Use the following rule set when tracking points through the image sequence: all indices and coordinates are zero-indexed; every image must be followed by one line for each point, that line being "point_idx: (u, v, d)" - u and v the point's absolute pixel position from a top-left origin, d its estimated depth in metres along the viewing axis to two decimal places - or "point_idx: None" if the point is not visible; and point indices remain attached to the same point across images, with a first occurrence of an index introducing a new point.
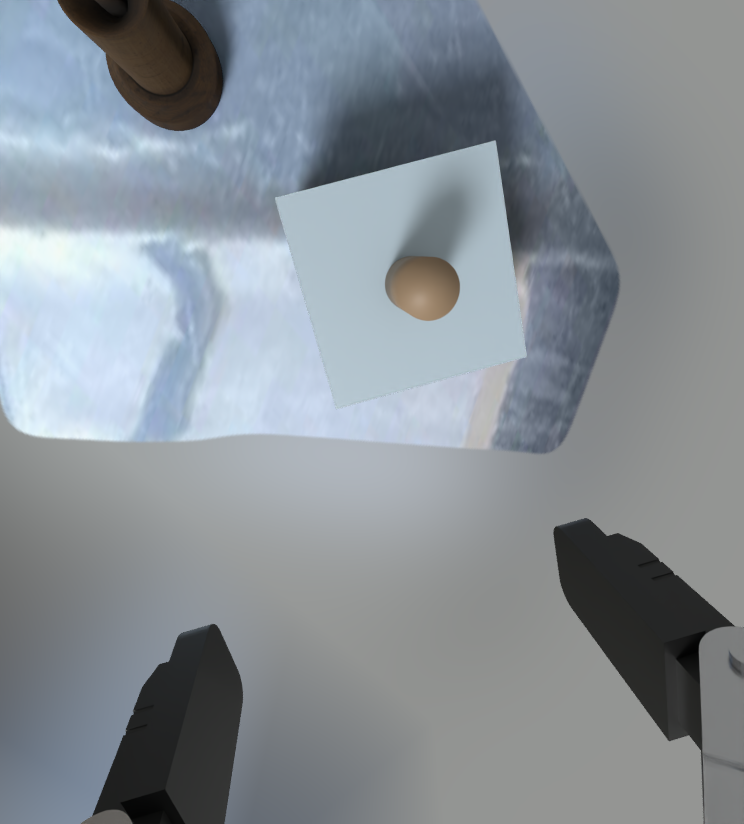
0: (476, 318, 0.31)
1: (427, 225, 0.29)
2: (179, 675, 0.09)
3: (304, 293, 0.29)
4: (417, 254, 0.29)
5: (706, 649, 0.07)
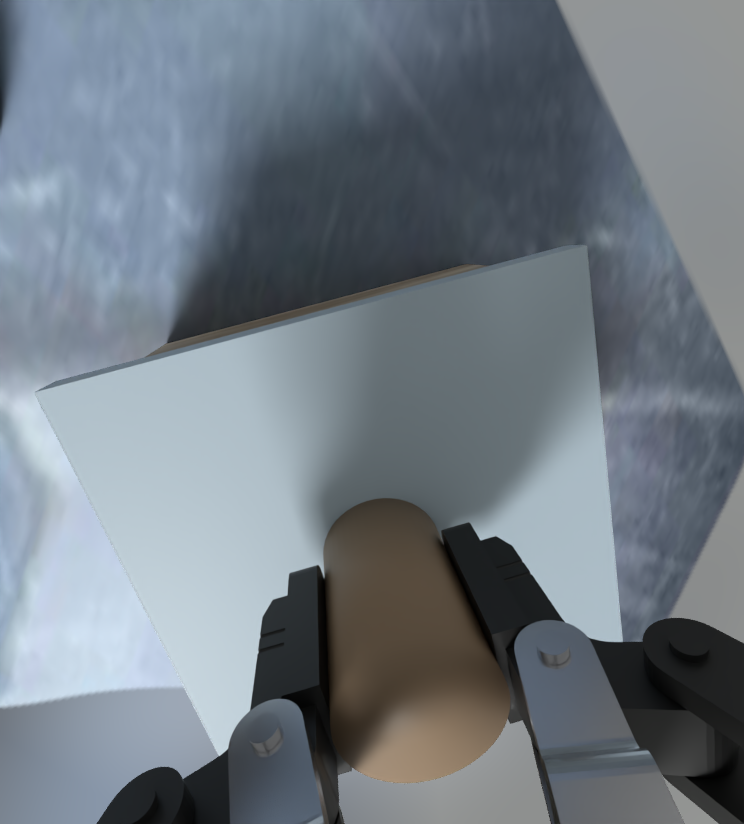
0: None
1: (420, 436, 0.12)
2: (301, 603, 0.10)
3: (136, 584, 0.13)
4: (396, 493, 0.13)
5: (521, 651, 0.08)
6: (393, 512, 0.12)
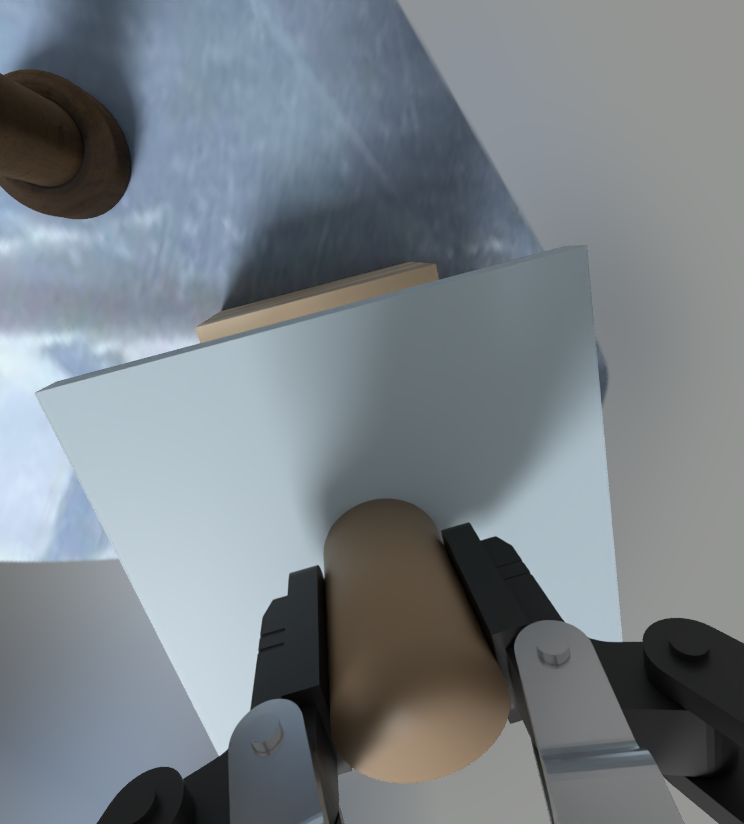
0: None
1: (420, 436, 0.12)
2: (301, 603, 0.10)
3: (136, 585, 0.13)
4: (396, 494, 0.13)
5: (521, 651, 0.08)
6: (393, 512, 0.12)
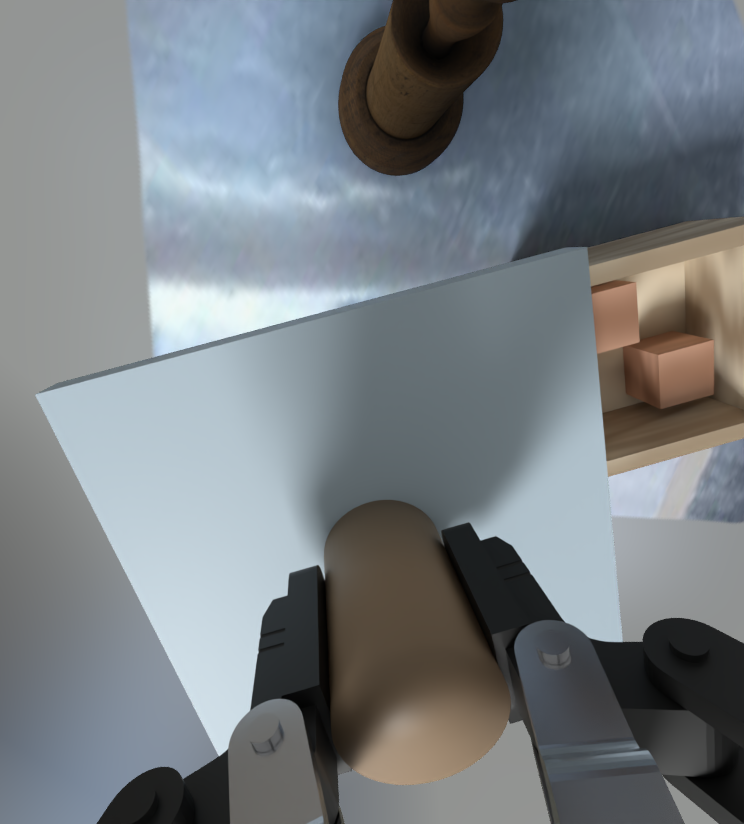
0: None
1: (420, 437, 0.12)
2: (301, 603, 0.10)
3: (137, 586, 0.13)
4: (397, 495, 0.13)
5: (521, 651, 0.08)
6: (393, 514, 0.12)
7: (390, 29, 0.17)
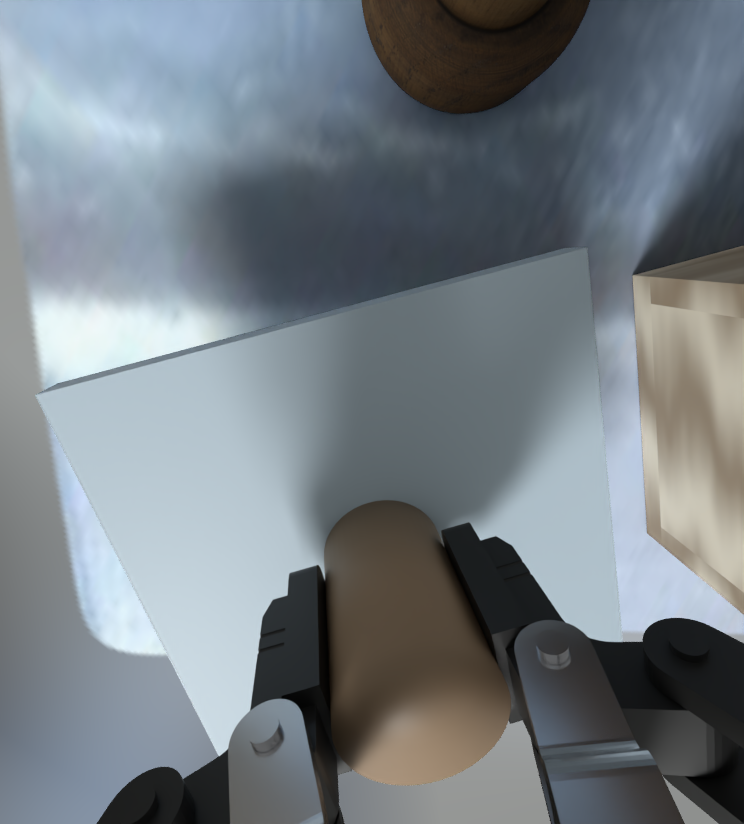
0: None
1: (420, 438, 0.12)
2: (301, 603, 0.10)
3: (137, 586, 0.13)
4: (397, 495, 0.13)
5: (521, 651, 0.08)
6: (393, 514, 0.12)
7: None
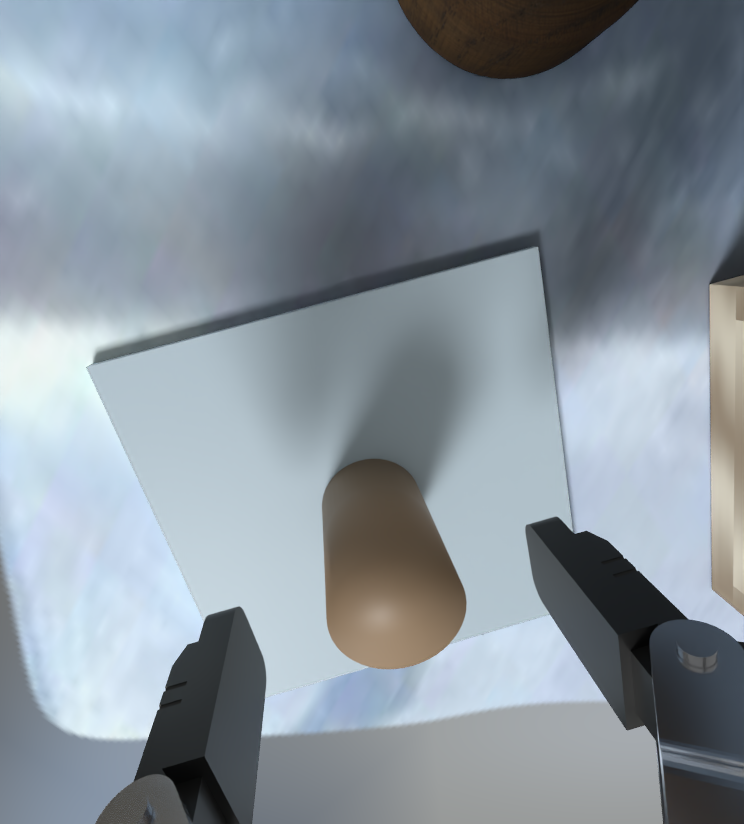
0: (494, 552, 0.17)
1: (402, 406, 0.15)
2: (209, 653, 0.10)
3: (165, 530, 0.15)
4: (383, 455, 0.15)
5: (657, 644, 0.07)
6: (379, 468, 0.14)
7: None
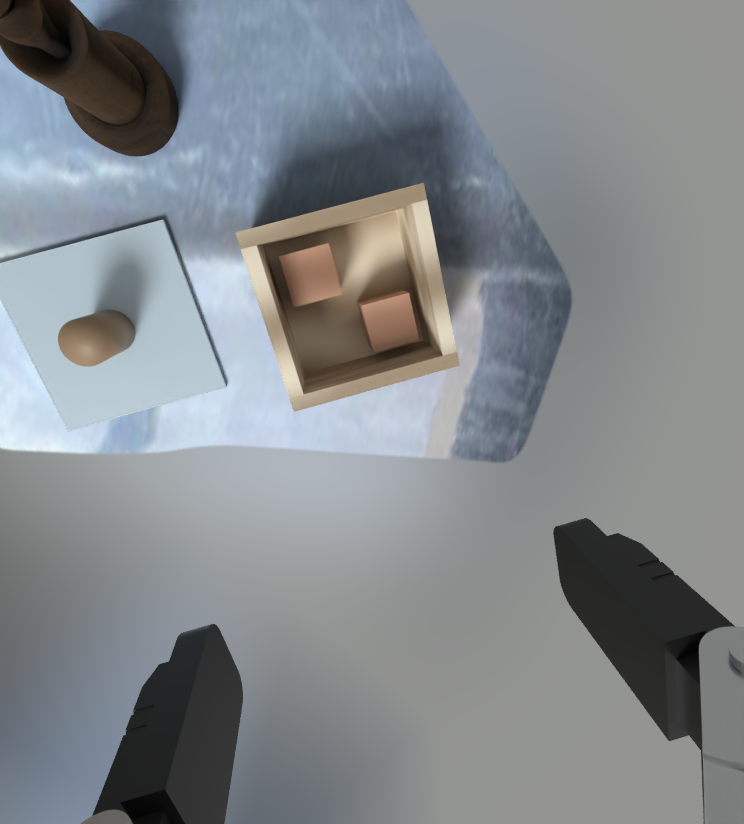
0: (175, 357, 0.38)
1: (118, 286, 0.36)
2: (179, 675, 0.09)
3: (23, 340, 0.36)
4: (114, 308, 0.36)
5: (707, 649, 0.07)
6: (107, 311, 0.36)
7: None
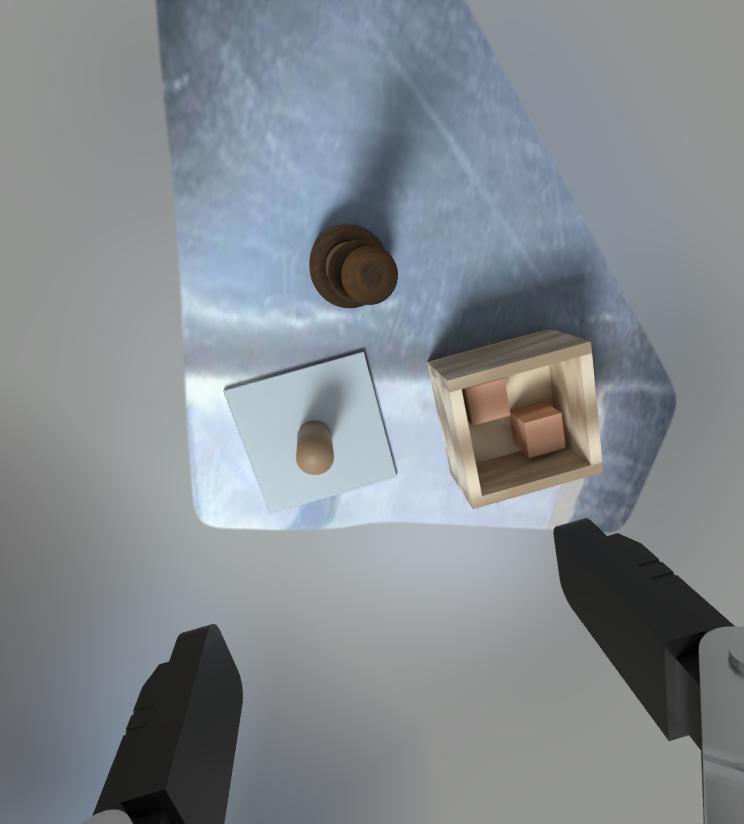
0: (360, 455, 0.47)
1: (323, 402, 0.45)
2: (179, 675, 0.09)
3: (244, 445, 0.45)
4: (317, 419, 0.45)
5: (707, 649, 0.07)
6: (315, 423, 0.44)
7: (328, 275, 0.31)
